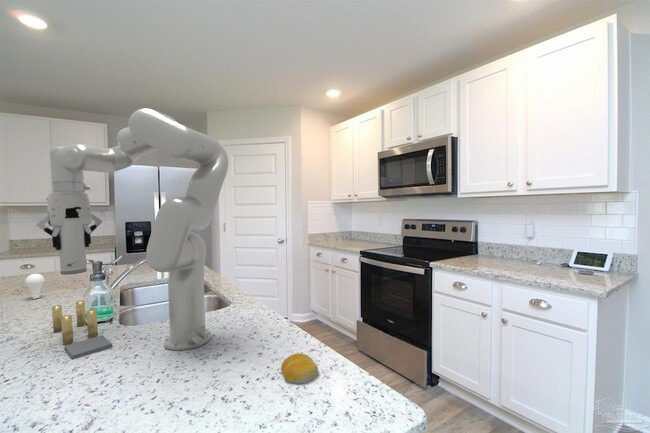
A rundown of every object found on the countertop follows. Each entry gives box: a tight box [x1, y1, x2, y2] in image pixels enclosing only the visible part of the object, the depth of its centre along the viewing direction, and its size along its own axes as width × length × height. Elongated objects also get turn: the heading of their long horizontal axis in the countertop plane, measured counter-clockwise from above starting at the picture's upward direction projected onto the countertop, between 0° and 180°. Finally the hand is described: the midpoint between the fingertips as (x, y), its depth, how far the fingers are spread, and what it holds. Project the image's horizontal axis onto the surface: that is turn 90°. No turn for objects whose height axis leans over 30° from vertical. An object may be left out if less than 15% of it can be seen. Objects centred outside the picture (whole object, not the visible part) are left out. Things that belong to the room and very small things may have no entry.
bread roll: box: [280, 352, 319, 385], centre depth 73 cm, size 8×9×4 cm
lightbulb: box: [24, 273, 45, 300], centre depth 136 cm, size 6×6×11 cm
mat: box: [63, 334, 113, 360], centre depth 88 cm, size 9×9×1 cm
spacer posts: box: [51, 300, 99, 346], centre depth 98 cm, size 16×8×8 cm, turn 49°
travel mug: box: [58, 207, 88, 276], centre depth 96 cm, size 6×7×20 cm
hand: (72, 247), depth 96 cm, fingers closed on travel mug, 6 cm apart
